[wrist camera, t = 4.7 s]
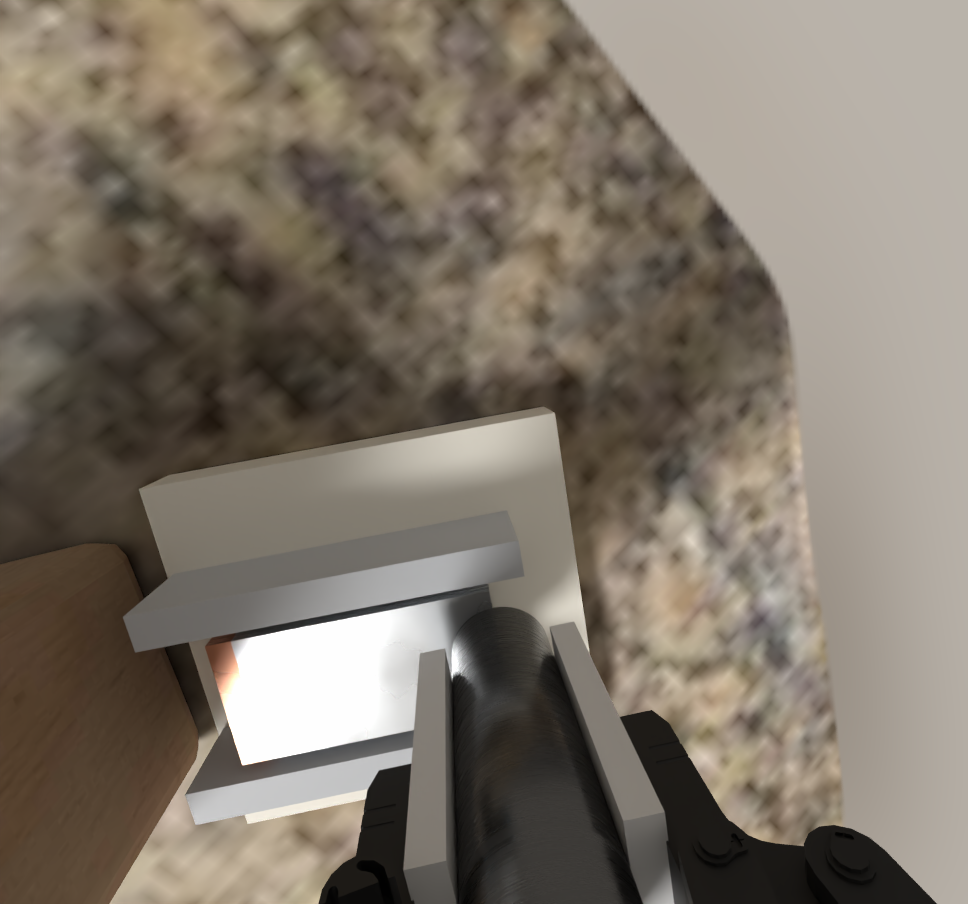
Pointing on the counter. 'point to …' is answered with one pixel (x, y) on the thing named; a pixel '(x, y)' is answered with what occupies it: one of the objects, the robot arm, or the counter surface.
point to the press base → (352, 568)
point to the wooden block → (81, 728)
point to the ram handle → (477, 732)
